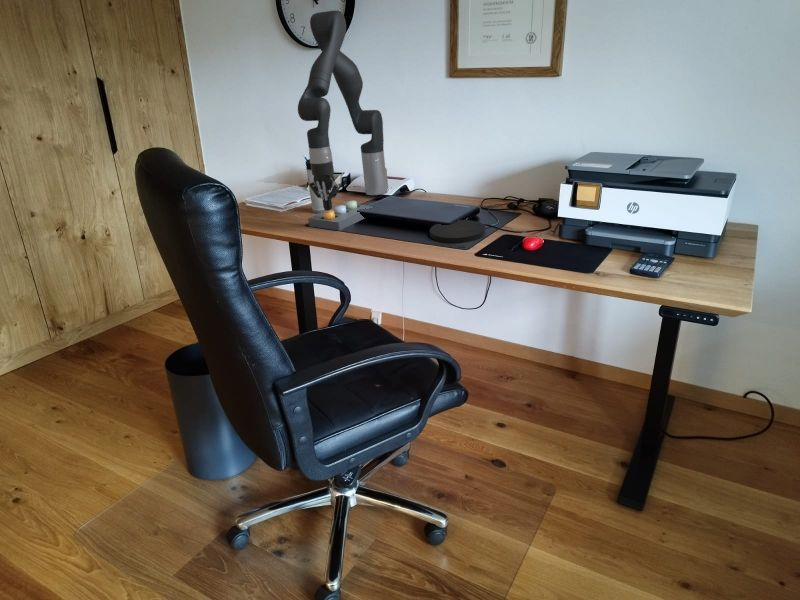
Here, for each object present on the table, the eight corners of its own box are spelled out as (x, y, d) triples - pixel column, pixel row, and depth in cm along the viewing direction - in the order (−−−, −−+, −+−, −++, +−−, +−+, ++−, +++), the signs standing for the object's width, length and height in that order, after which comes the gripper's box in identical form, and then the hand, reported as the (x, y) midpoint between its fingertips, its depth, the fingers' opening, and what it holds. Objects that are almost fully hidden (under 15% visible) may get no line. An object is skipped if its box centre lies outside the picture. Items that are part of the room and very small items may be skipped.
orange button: (329, 219, 200) (327, 209, 199) (337, 220, 198) (336, 210, 197) (322, 222, 198) (320, 213, 196) (330, 223, 195) (329, 214, 194)
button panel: (343, 210, 214) (342, 203, 213) (373, 214, 207) (372, 206, 206) (309, 226, 200) (307, 218, 198) (339, 230, 192) (338, 222, 191)
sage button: (351, 209, 210) (350, 200, 209) (359, 210, 208) (358, 200, 206) (344, 212, 207) (343, 203, 206) (353, 213, 205) (352, 203, 203)
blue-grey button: (340, 214, 205) (339, 204, 204) (349, 215, 203) (347, 205, 202) (333, 217, 202) (332, 207, 201) (342, 218, 200) (340, 208, 199)
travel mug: (330, 207, 219) (323, 156, 211) (327, 212, 214) (319, 160, 205) (315, 208, 220) (307, 157, 212) (311, 213, 214) (303, 161, 206)
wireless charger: (443, 223, 191) (443, 218, 190) (493, 228, 183) (493, 222, 182) (420, 241, 177) (420, 235, 176) (473, 246, 169) (473, 240, 168)
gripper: (343, 158, 188) (349, 208, 195) (313, 157, 195) (320, 205, 202) (329, 163, 182) (335, 214, 190) (299, 161, 189) (307, 211, 197)
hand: (328, 209), depth 196 cm, fingers closed
